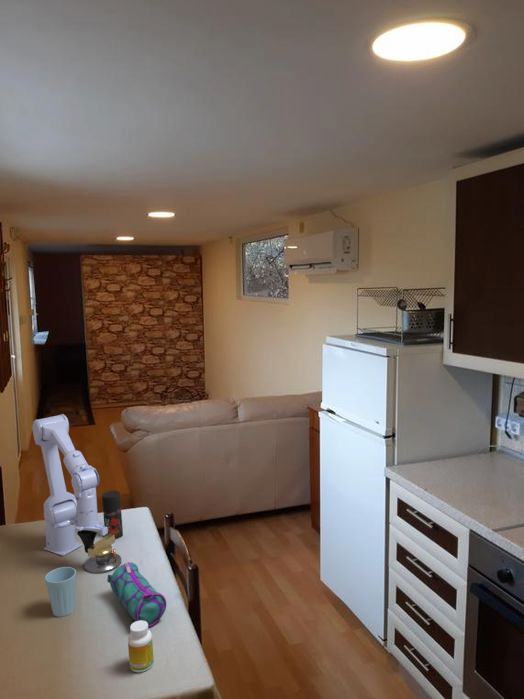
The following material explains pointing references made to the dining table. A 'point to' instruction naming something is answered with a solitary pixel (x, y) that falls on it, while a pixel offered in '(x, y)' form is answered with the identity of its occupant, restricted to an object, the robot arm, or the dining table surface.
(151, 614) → the pencil case
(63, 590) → the cup
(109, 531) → the deodorant
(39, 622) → the dining table surface
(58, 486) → the robot arm
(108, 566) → the post base
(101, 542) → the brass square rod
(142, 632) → the supplement bottle
